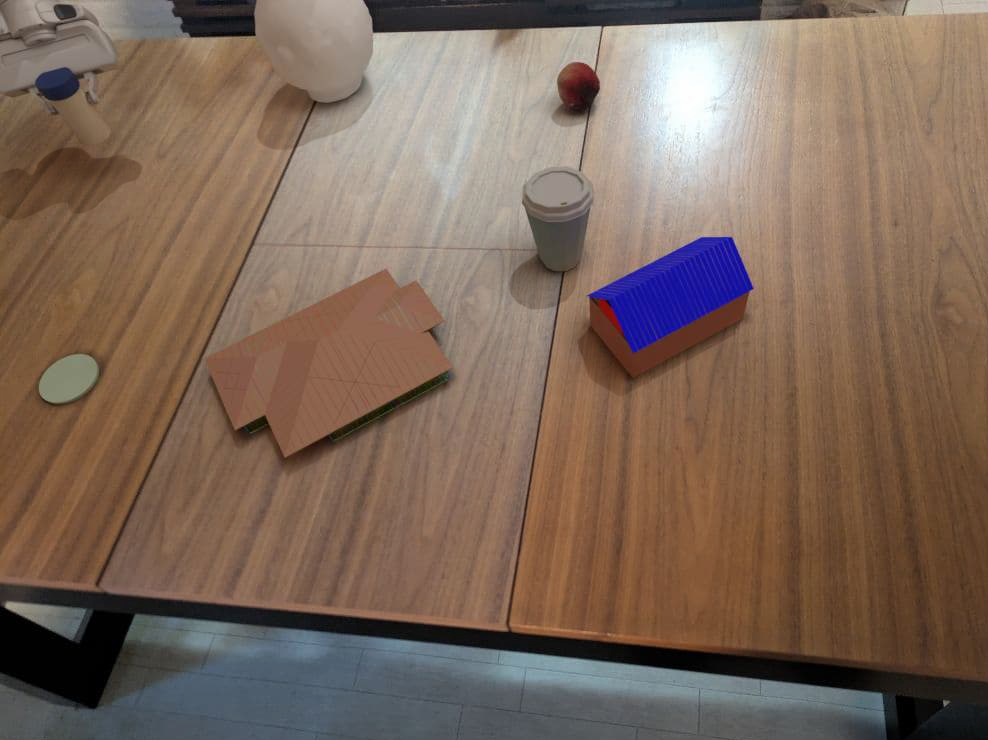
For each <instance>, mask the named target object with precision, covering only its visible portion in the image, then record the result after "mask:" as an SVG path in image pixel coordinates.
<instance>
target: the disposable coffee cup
mask: <svg viewBox="0 0 988 740" xmlns="http://www.w3.org/2000/svg"><path fill="white" fill-rule="evenodd" d="M522 187H523V188H522V197H521V205H522V206H523V207H524V210H525V213H526V216H527V220H528V224H529V226H530V230H531V235H532V237H533V240H534V244H535V246H536V250H537V253H538V256H539V259H540V260H541V262H542V263H543V265H544V266H545V267H546V268H547V269H549V270H552V271H553V272H567V271H569V270H572V269H574V268H575V267H576V266H577V265H578V263H579V262H580V261H581V259H582V256H583V251H584V246H585V240H586V234H587V229H588V225H589V218H590V212H591V209H592V208H591V207H592V205H593V204H594V203H595V189H594V184H593V183H592V182H591V180H590V179H589V178H588V176H586V174H585V173H584V172H583V171H581V170H578V169H575V168H572V167H568V166H551V167H547V168H545V169H542V170H540V171H537V172H535V173H534V174H532V175H531V177H530V178H529V179H528V180H527V181H526V182H525V183H524V184H523V185H522Z"/></svg>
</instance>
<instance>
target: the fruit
mask: <svg viewBox="0 0 988 740" xmlns="http://www.w3.org/2000/svg"><path fill="white" fill-rule="evenodd" d="M556 84H557V92H558V95H559V98H560V100H561V101H562V103H563V104H564V105H565V106H566V107H568V108H570V109H571V110H579V111H581V110H583V111H584V110H586V109H588V108H589V107H591V106H592V104H593V103H594V102H595V99H596V97H597V96H598V94H599V93H600V90H601V81H600V79H599V76H598V75H597V73H596V71H595V70H594V69H593V68H592V67H591V66H590V65H589V64H587V63H585V62H581V61H572V62H570V63H568V64H566V66H564V67H563V68H562V70H561V71H560V72H559V74H558V75H557V79H556Z"/></svg>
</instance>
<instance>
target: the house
mask: <svg viewBox="0 0 988 740" xmlns="http://www.w3.org/2000/svg"><path fill="white" fill-rule="evenodd" d="M736 245H737V244H736V243H735V241H734V239H733V236H700V238H696V239H694V240H693V241H691V242H689V243H687V244H685V245H683V246H681V247H679V248H677V249H675V250H673V251H672V252H670V253H668V254H665V255H663V256H662V257H660V258H658V259H656V260H653V261H652V262H649V263H647V264H646V265H644V266H642V267H640V268H638V269H636V270H634V271H632V272H630V273H628V274H626V275H624V276H622V277H620V278H619V279H616V280H615V281H612V282H611V283H609V284H606V285H605V286H603V287H600V288H599V289H597V290H595V291H592V292H591V293H589V294H587V295H586V297H588V299H589V300H588V303H589V323H590V324H589V325H590V326H591V328H592V329H593V331H594V332H595V333H596V334H597V335H598V336H599V338H600V339H601V341H603V343H604V344H605V346H606V347H607V348H608V349H609V350H610V352H611V353H612V354H613V355H614V357H615V358H616V359H617V360H618V362H619V363H620V364H621V366H622V367H623V368H624V369H625V371H626V372H627V373H628V375H630V377H631V378H632V379H634V378H636V377H638V376H640V375H641V374H643V373H645V372H647V371H648V370H651V369H653V368H654V367H656V366H658V365H660V364H661V363H664V362H665V361H667V360H669V359H670V358H672V357H675V356H676V355H678V354H680V353H682V352H683V351H686V350H687V349H689V348H692V347H694V345H696V344H698V343H701V342H702V341H704V340H706V339H708V338H710V337H711V336H713V335H715V334H717V333H719V332H721V331H722V330H724V329H726V328H728V327H730V326H732V325H733V324H735V323H738V322H740V321H741V320H743V319H744V316H745V311H746V308H747V304H748V300H749V296H750V292H751V291H752V290H754V289H755V288H754V286H753V282H752V281H751V278H750V277H749V274H748V271H747V269H746V266H745V264H744V262H743V260H742V257H741V254H740V252H739V250H738V247H737V246H736Z"/></svg>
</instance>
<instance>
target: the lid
mask: <svg viewBox="0 0 988 740" xmlns="http://www.w3.org/2000/svg"><path fill="white" fill-rule="evenodd" d="M35 85H36V87H37V88H38V89H39V91H40V92H41V93H42V95H43V96H42V97H43V98H44V99H45V100H48V101H49V100H51V101H57V100H62V99H65V98H67V97H69V96H71V95H73V94H74V93H75V92H76V91H77V90H78V89H79V86H81V82H80V81H79V80H78V79H77V78H76V76H75V75H74V74H73V73H72V71H71V70H70V69H69V68H67V67H63V68H59V69H55V70H52V71H48V72H44V73H42V74H41V75H39V76H38V78H37V79H36V81H35Z"/></svg>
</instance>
